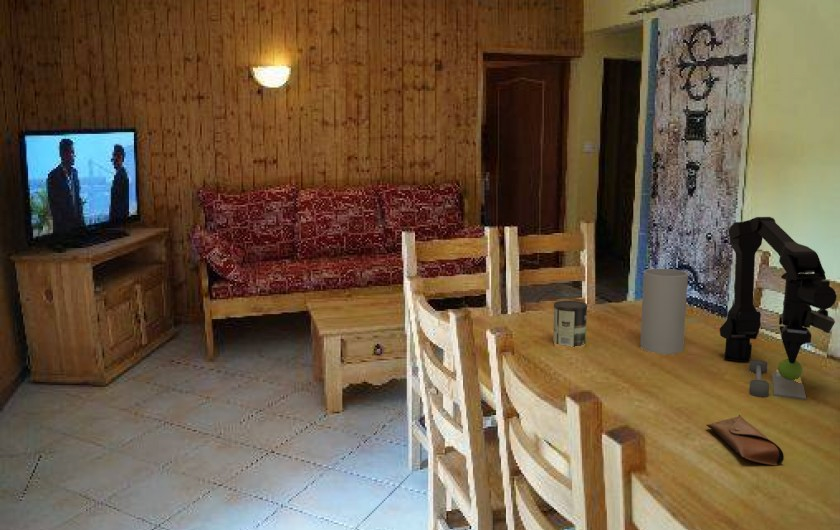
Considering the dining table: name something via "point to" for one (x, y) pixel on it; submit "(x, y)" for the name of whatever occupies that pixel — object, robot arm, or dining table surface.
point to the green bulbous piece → (790, 369)
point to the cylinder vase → (663, 310)
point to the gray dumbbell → (758, 379)
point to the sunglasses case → (748, 441)
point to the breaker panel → (787, 387)
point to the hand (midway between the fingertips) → (791, 359)
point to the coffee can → (570, 323)
